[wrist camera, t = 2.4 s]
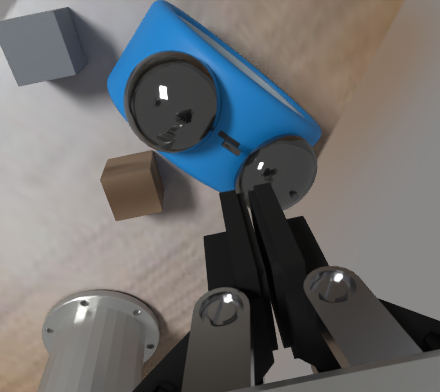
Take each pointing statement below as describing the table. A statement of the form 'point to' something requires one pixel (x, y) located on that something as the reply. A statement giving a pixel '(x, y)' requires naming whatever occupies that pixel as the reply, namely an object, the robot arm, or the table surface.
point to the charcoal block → (42, 46)
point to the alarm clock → (212, 109)
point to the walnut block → (133, 185)
